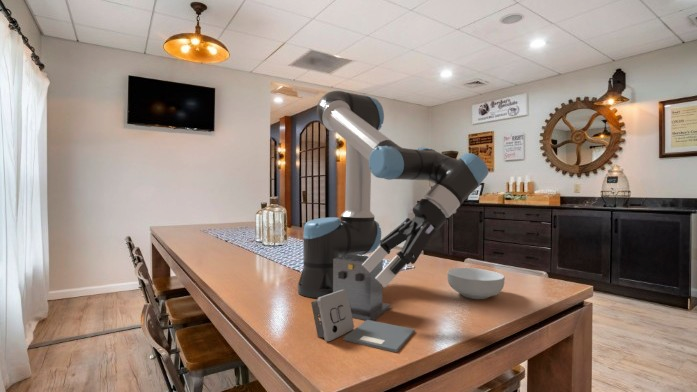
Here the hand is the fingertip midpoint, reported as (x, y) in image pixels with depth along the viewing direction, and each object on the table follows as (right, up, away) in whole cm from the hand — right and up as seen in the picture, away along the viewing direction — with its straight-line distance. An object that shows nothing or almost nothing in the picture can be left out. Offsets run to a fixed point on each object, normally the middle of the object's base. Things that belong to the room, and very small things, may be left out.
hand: (372, 275), depth 79 cm
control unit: (-3, -13, +16) cm, 20 cm away
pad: (+2, -13, -1) cm, 13 cm away
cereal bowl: (+34, -13, +30) cm, 47 cm away
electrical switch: (-9, -13, 0) cm, 16 cm away
